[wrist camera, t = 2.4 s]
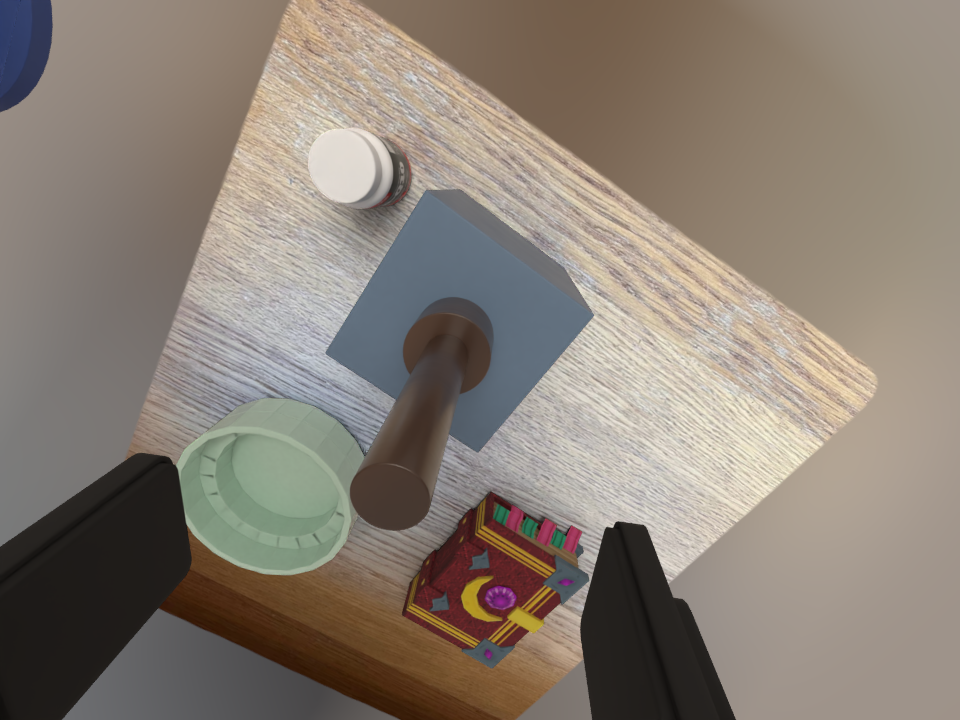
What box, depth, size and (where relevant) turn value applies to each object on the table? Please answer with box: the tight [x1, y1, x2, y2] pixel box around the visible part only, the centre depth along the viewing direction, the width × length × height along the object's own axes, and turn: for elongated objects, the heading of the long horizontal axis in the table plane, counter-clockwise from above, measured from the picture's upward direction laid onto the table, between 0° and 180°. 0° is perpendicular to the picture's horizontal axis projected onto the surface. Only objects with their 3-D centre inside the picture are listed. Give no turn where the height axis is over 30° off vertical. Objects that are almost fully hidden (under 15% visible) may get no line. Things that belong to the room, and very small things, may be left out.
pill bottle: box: [308, 127, 411, 209], centre depth 30 cm, size 5×5×8 cm
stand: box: [326, 189, 594, 452], centre depth 30 cm, size 10×10×14 cm
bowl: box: [176, 398, 365, 575], centre depth 41 cm, size 15×15×6 cm
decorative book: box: [402, 492, 589, 668], centre depth 44 cm, size 11×16×5 cm
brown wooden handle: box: [350, 297, 494, 531], centre depth 17 cm, size 4×4×13 cm
